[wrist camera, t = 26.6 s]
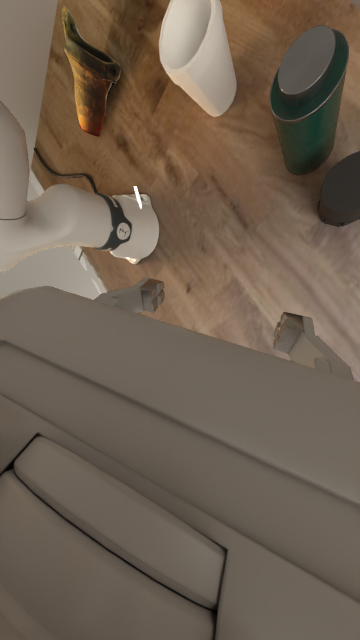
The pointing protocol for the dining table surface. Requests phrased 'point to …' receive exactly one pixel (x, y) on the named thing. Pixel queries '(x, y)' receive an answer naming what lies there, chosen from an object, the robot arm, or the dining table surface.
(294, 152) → the thermos
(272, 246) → the dining table surface
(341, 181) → the lid
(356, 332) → the dining table surface
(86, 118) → the pot
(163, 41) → the foam cup
